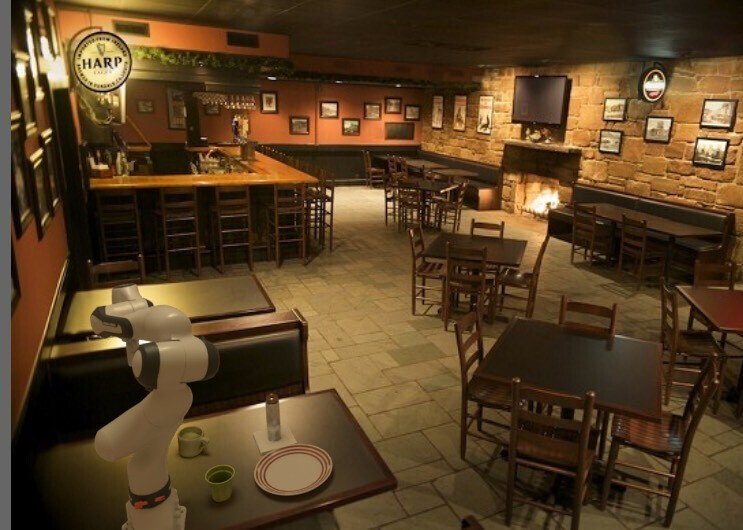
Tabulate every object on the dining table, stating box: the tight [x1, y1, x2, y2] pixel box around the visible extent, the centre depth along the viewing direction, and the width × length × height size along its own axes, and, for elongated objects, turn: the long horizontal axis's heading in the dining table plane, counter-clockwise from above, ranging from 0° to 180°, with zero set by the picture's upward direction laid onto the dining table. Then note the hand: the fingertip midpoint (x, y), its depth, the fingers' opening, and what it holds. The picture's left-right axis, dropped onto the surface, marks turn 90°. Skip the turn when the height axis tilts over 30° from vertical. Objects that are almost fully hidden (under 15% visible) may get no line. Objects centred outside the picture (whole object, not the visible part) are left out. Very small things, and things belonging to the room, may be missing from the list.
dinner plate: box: [253, 443, 333, 497], centre depth 181 cm, size 27×27×3 cm
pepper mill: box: [264, 392, 281, 442], centre depth 196 cm, size 5×5×20 cm
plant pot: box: [204, 464, 235, 503], centre depth 169 cm, size 9×9×9 cm
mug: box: [177, 425, 211, 458], centre depth 191 cm, size 12×10×10 cm
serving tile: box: [252, 423, 298, 456], centre depth 199 cm, size 14×14×1 cm
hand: (136, 366), depth 176 cm, fingers open, 8 cm apart
